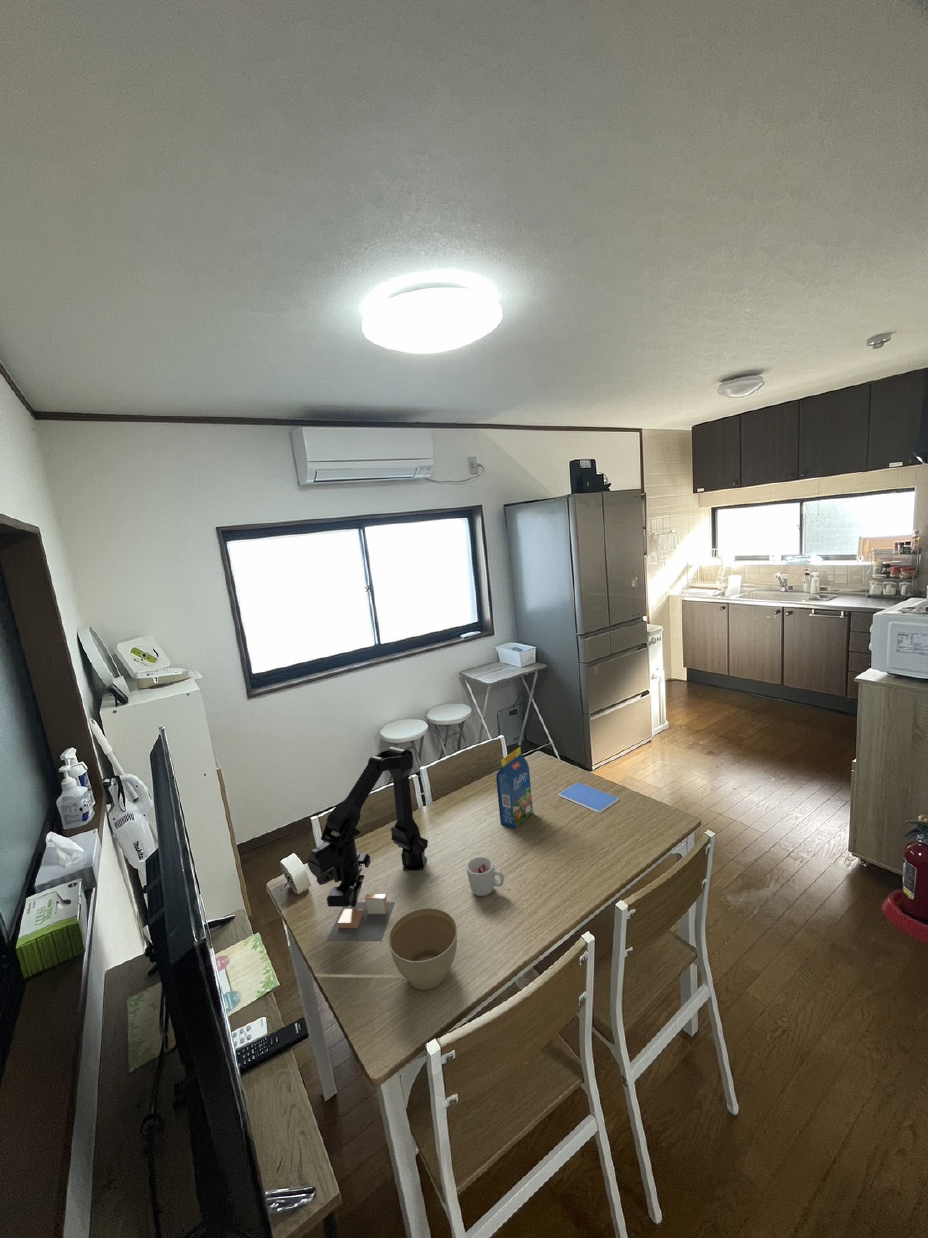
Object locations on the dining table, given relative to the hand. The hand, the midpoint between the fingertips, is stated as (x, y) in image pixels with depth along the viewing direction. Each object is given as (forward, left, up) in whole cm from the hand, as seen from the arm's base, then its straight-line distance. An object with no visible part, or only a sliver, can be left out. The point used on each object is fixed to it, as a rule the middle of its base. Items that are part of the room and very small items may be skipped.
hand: (353, 906), depth 141 cm
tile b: (0, +1, -1) cm, 1 cm away
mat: (-3, +3, -3) cm, 5 cm away
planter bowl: (-25, +19, -3) cm, 31 cm away
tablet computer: (-71, -59, -3) cm, 93 cm away
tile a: (-7, 0, -2) cm, 7 cm away
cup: (-37, -9, -3) cm, 38 cm away
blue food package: (-45, -46, -3) cm, 64 cm away
